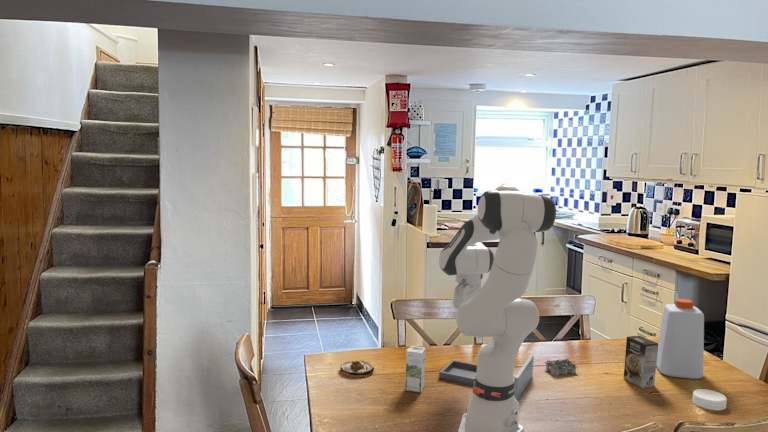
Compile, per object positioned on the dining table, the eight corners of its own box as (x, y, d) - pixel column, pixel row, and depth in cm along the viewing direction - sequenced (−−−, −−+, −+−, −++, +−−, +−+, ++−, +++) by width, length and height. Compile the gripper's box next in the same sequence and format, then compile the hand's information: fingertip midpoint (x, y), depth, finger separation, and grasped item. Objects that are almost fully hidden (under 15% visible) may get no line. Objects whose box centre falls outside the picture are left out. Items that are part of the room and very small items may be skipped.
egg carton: (552, 376, 214) (553, 366, 213) (542, 368, 221) (543, 358, 220) (578, 374, 216) (579, 364, 216) (567, 366, 223) (568, 356, 223)
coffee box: (622, 378, 213) (625, 336, 211) (636, 376, 215) (639, 334, 213) (641, 388, 204) (645, 344, 202) (655, 386, 206) (659, 342, 204)
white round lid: (696, 395, 200) (697, 385, 199) (729, 404, 193) (730, 394, 193) (688, 404, 192) (689, 394, 192) (722, 414, 186) (723, 403, 185)
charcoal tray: (476, 386, 203) (476, 379, 202) (439, 378, 209) (439, 371, 208) (487, 372, 215) (487, 366, 215) (452, 365, 221) (452, 359, 221)
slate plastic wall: (516, 401, 191) (518, 378, 190) (513, 400, 192) (514, 377, 191) (532, 376, 213) (533, 355, 212) (529, 375, 213) (530, 354, 212)
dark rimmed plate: (381, 378, 208) (381, 367, 208) (341, 382, 205) (341, 370, 204) (372, 363, 223) (372, 353, 222) (333, 366, 219) (334, 356, 218)
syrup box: (424, 386, 201) (425, 346, 199) (420, 393, 195) (422, 352, 194) (408, 384, 203) (409, 344, 201) (404, 391, 197) (405, 350, 195)
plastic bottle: (661, 376, 215) (667, 304, 212) (652, 362, 230) (658, 294, 226) (705, 381, 212) (712, 307, 208) (694, 366, 226) (700, 297, 223)
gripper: (467, 284, 197) (465, 323, 199) (484, 272, 215) (482, 308, 217) (449, 281, 200) (448, 320, 201) (468, 270, 218) (466, 306, 219)
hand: (466, 314), depth 209 cm, fingers closed on rubber ball, 6 cm apart
